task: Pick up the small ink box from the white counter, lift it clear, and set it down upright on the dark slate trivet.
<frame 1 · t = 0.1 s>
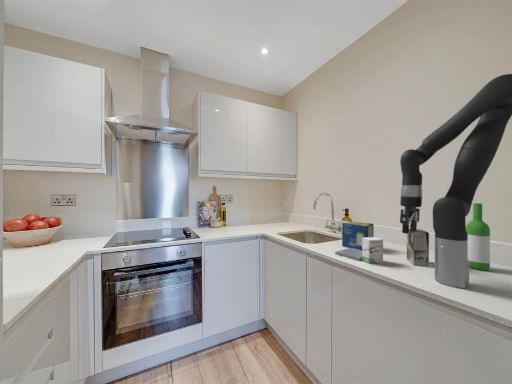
hand: (409, 232, 91), 17 cm above the worktop, tool pointing down, fingers open, 8 cm apart
wine bottle: (477, 268, 95), on the worktop
ink box: (372, 262, 103), on the worktop
protein box: (357, 247, 129), on the worktop
trivet: (355, 254, 114), on the worktop
coffee box: (417, 263, 101), on the worktop
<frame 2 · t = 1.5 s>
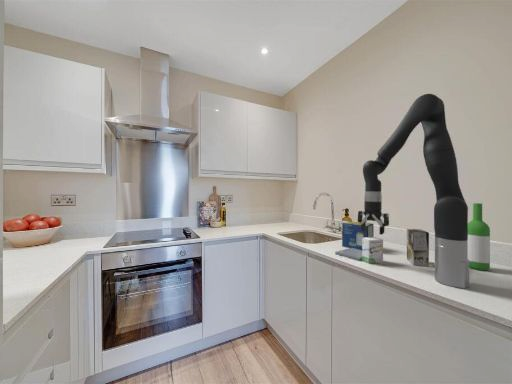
hand: (372, 232, 103), 15 cm above the worktop, tool pointing down, fingers open, 8 cm apart
nothing on the worktop moved.
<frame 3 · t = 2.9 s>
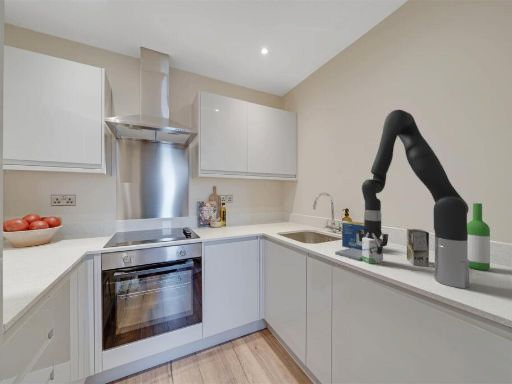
hand: (372, 252, 103), 5 cm above the worktop, tool pointing down, fingers closed on ink box, 6 cm apart
ink box: (372, 262, 103), on the worktop, touching gripper
everything else where it was.
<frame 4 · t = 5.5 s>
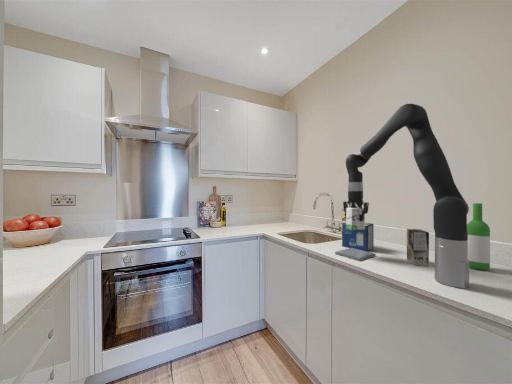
hand: (355, 220, 114), 19 cm above the worktop, tool pointing down, fingers closed on ink box, 6 cm apart
ink box: (355, 229, 114), point 14 cm above the worktop, touching gripper
everything else where it was.
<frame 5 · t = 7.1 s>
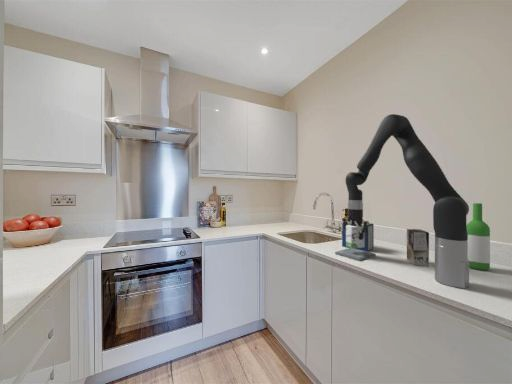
hand: (355, 238, 114), 9 cm above the worktop, tool pointing down, fingers closed on ink box, 6 cm apart
ink box: (355, 247, 114), point 4 cm above the worktop, touching gripper
everything else where it was.
when the fingers open (7 cm above the worktop, at t = 8.2 s): ink box stays where it is, resting on trivet.
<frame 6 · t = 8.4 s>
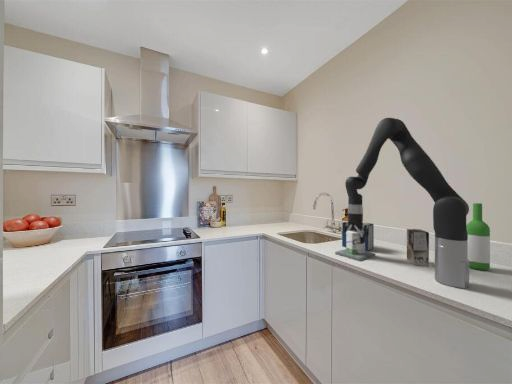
hand: (355, 242, 114), 7 cm above the worktop, tool pointing down, fingers open, 7 cm apart
ink box: (355, 253, 114), point 1 cm above the worktop, touching trivet
everything else where it was.
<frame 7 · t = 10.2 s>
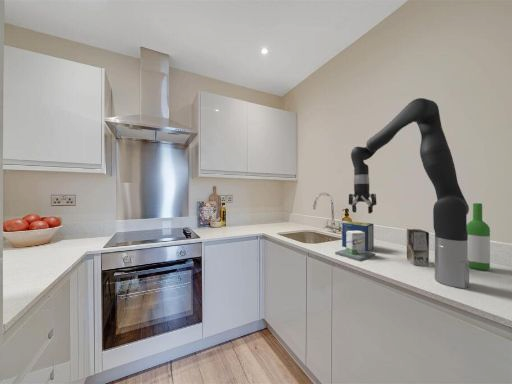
hand: (362, 212, 112), 24 cm above the worktop, tool pointing down, fingers open, 8 cm apart
nothing on the worktop moved.
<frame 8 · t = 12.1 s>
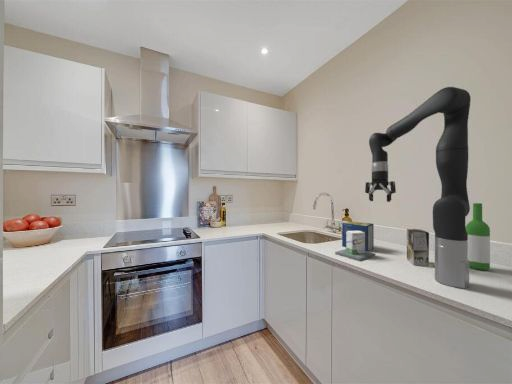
hand: (379, 201, 109), 30 cm above the worktop, tool pointing down, fingers open, 8 cm apart
nothing on the worktop moved.
at the end: ink box inside the target area on the trivet (0.2 cm from its centre), point 1.1 cm above the trivet's base; ink box tilted 0°; the gripper is holding nothing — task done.
